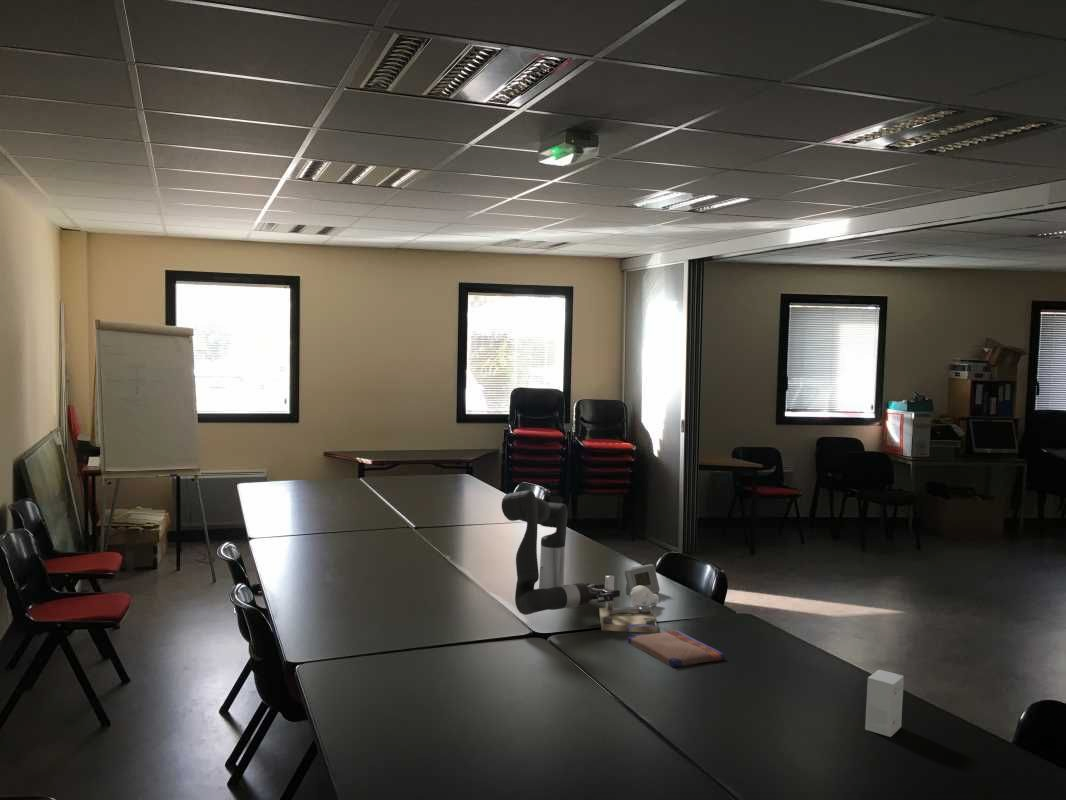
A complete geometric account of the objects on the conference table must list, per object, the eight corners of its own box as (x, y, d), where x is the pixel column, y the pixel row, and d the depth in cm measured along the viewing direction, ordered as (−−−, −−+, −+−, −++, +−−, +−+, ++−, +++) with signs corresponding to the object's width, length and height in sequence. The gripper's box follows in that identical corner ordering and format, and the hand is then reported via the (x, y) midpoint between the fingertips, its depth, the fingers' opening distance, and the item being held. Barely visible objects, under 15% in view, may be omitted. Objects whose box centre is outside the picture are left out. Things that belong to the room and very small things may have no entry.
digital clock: (631, 600, 313) (632, 572, 313) (616, 594, 321) (617, 566, 321) (665, 595, 322) (666, 567, 321) (650, 589, 330) (651, 562, 329)
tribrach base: (601, 630, 277) (601, 619, 277) (599, 613, 295) (599, 603, 295) (657, 632, 277) (657, 622, 277) (651, 616, 295) (651, 606, 295)
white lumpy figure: (629, 584, 304) (653, 582, 311) (626, 607, 304) (650, 605, 311) (641, 588, 299) (665, 586, 306) (639, 611, 299) (662, 610, 306)
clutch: (674, 671, 245) (727, 661, 254) (675, 654, 245) (727, 645, 254) (619, 640, 270) (669, 632, 279) (620, 625, 269) (669, 618, 279)
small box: (875, 719, 214) (878, 668, 214) (901, 727, 210) (904, 675, 210) (864, 729, 208) (867, 677, 208) (891, 737, 204) (894, 684, 204)
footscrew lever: (647, 608, 295) (649, 572, 294) (653, 612, 290) (655, 576, 290) (601, 610, 290) (603, 574, 290) (606, 615, 285) (608, 578, 285)
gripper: (585, 589, 274) (625, 584, 283) (560, 579, 286) (599, 574, 295) (584, 612, 275) (624, 606, 283) (559, 601, 286) (598, 595, 295)
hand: (611, 590), depth 289 cm, fingers open, 8 cm apart
